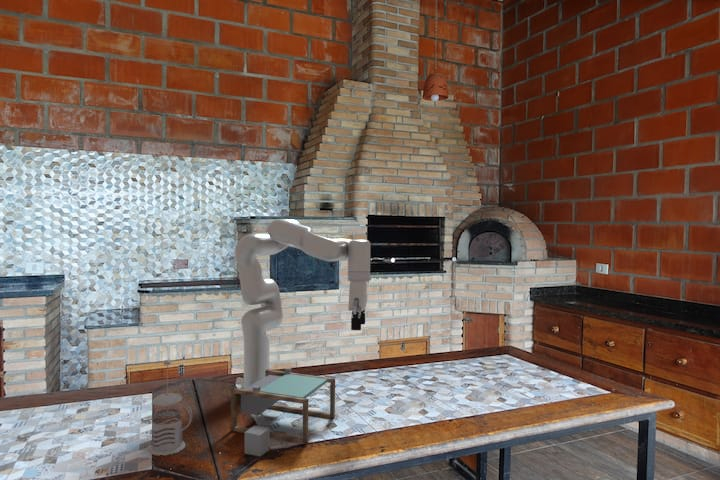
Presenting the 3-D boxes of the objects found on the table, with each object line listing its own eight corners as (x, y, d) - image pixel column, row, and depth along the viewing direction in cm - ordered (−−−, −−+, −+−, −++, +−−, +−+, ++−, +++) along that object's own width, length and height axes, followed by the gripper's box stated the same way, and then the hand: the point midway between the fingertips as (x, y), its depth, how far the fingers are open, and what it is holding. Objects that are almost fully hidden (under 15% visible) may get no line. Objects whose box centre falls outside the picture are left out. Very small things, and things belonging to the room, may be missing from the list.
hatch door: (239, 413, 147) (239, 388, 147) (269, 393, 164) (270, 371, 164) (302, 423, 140) (302, 397, 140) (327, 402, 157) (327, 379, 156)
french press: (155, 439, 140) (155, 355, 139) (195, 438, 141) (196, 354, 140) (142, 456, 130) (142, 365, 129) (186, 454, 131) (186, 364, 130)
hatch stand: (230, 430, 146) (230, 384, 146) (267, 406, 167) (267, 365, 166) (306, 444, 138) (306, 395, 137) (334, 417, 158) (335, 373, 157)
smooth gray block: (244, 453, 132) (244, 432, 132) (254, 445, 137) (254, 425, 137) (260, 456, 130) (260, 435, 130) (269, 448, 135) (269, 427, 135)
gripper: (352, 273, 169) (351, 321, 170) (343, 278, 152) (342, 332, 153) (373, 274, 168) (372, 322, 169) (366, 279, 151) (365, 333, 152)
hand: (358, 326), depth 161 cm, fingers open, 9 cm apart
